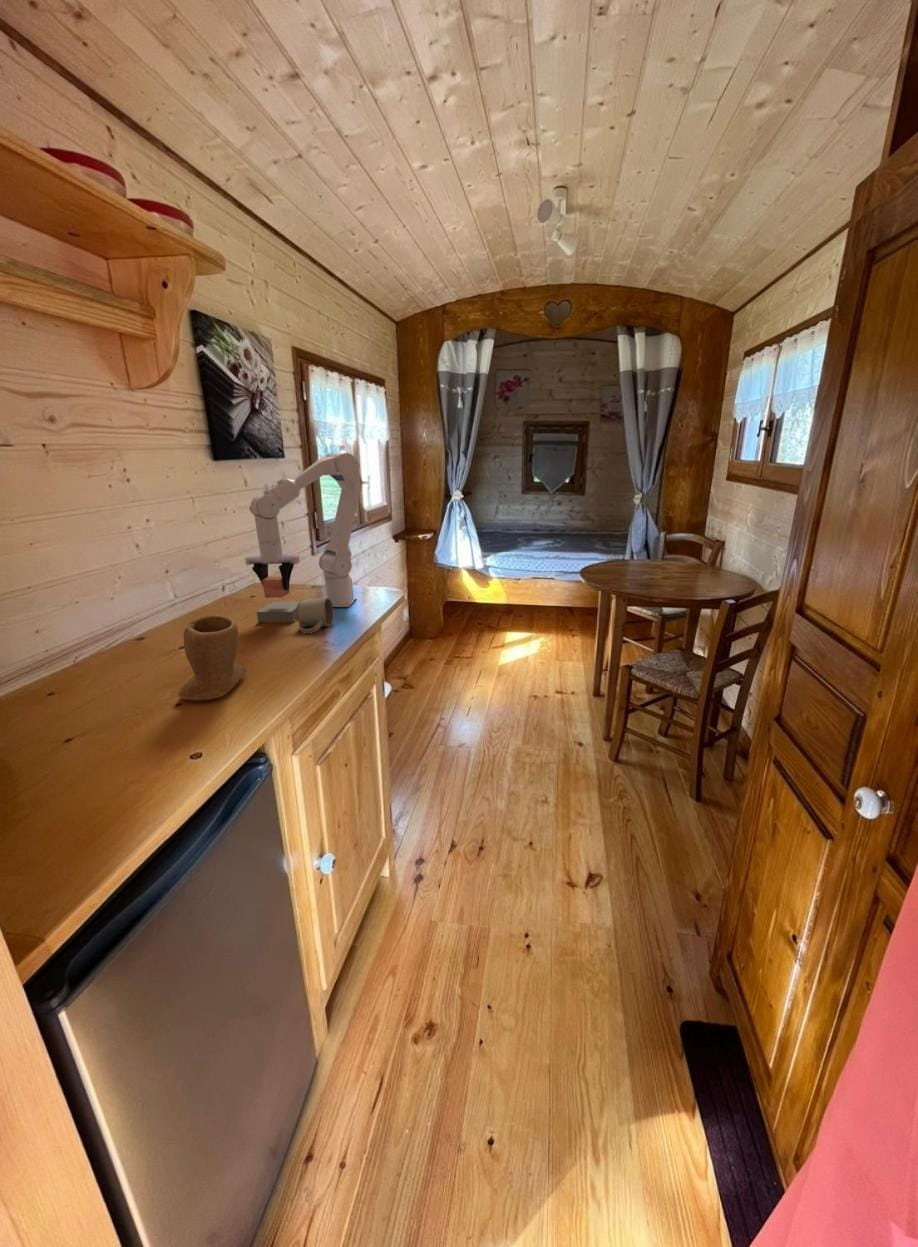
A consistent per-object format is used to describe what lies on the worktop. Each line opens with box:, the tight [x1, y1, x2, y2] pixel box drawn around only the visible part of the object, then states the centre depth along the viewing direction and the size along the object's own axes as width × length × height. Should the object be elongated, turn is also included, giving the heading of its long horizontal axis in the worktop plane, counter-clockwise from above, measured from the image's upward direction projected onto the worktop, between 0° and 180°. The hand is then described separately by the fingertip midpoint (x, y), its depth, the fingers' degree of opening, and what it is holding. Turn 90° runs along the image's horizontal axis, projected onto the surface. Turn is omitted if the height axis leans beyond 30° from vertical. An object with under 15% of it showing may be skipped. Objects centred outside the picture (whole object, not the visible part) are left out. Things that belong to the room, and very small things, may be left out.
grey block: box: [256, 601, 300, 623], centre depth 154 cm, size 10×10×4 cm
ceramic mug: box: [296, 597, 335, 634], centre depth 143 cm, size 11×8×8 cm
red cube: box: [262, 574, 290, 599], centre depth 151 cm, size 5×5×5 cm
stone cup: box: [177, 614, 248, 701], centre depth 107 cm, size 15×12×15 cm
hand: (276, 589), depth 151 cm, fingers closed on red cube, 5 cm apart
